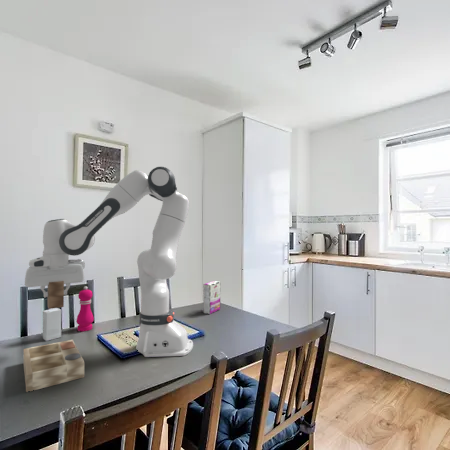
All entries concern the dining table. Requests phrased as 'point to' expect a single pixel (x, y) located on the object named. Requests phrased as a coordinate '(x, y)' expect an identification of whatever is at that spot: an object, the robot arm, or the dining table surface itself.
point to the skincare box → (51, 324)
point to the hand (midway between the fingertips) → (55, 295)
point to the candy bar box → (211, 297)
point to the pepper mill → (85, 310)
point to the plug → (55, 294)
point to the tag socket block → (52, 365)
